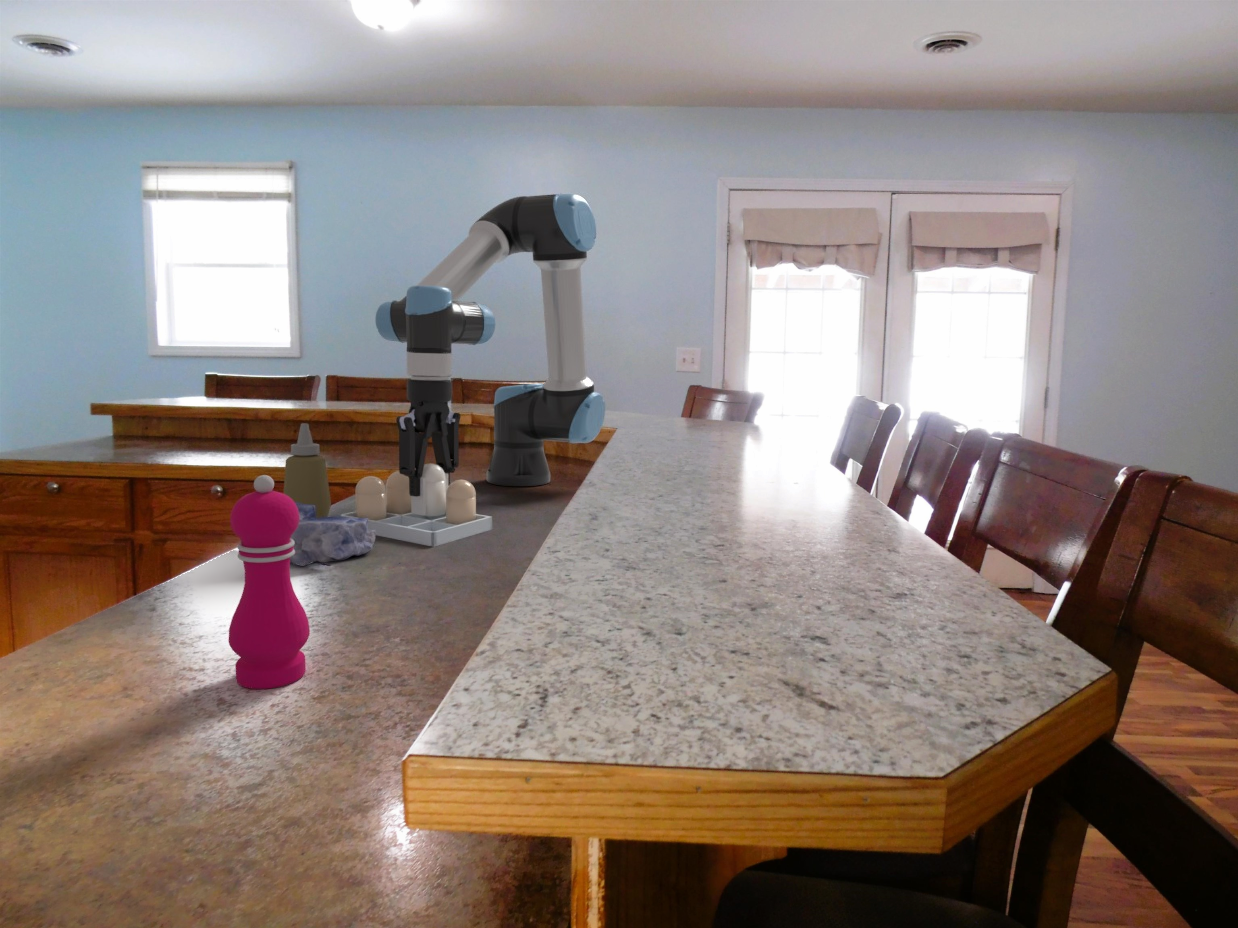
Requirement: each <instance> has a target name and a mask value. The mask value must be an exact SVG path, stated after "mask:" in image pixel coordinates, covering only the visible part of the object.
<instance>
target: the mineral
mask: <svg viewBox="0 0 1238 928" xmlns="http://www.w3.org/2000/svg"><path fill="white" fill-rule="evenodd" d="M295 504H296V506H297V508H298V511H299V525H298V527H297V529H296V530H295V532H294V533H293V534H292V535H291V539H293V540H294V542H295V544H294V546H293V547H294V550H295V554H294V555H293V556H291V557H290V564H291V563H292V564H294V565H297V566H301V567H302V566H303V567H304V566H305V567H306V566H308V565H310V564H311V563H315V562H317V563H320V565H322V566H325V565H326V566H327V567H328V566H329V567H330V566H332V564H326V563H328V562H334V561H335V562H336V561H345V560H347V559H349V558H350V557H352V556H355V557H357V556H358V557H359V556H361V555H364V554H366V553H368V552H370V551H371V550H372V549H373V547H374V543H375V542H376V535H375V534H376V531H375V530H367V523H368V518H355V517H338V516H328V517H323V518H316V511H315V505H308V504H300V503H295ZM326 566H325V567H326Z"/></svg>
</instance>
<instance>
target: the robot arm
mask: <svg viewBox="0 0 1238 928" xmlns="http://www.w3.org/2000/svg"><path fill="white" fill-rule="evenodd" d="M596 224H597V223H596V220H595V215H594V213H593V210H592V209H591V207H590V205H589V203H588V202H587V201H586V199H584V198H583V197H582V196H581V195H579V194H575V193H561V192H560V193H555V194H553V193H552V194H540V195H529V196H526V195H525V196H524V195H523V196H516V197H513V198H509V199H507V200H504V201H503V202H500V203H499V204H497V205H496V206H494V207H492V208H491V209H490V210H489V211H487V212H486V213H484V214H483V215H481V217H480V218H478V219H477V220H476V221H475V222H474V223H473V224H472V225H471V226H470V228H469V231H468V236H467V237H465V239H463V241H461V242H460V243H459V244H458V246H456V247H455V248H454V249H453V250H452V251H450V253H448V255H447V256H446V257H445V258H444V259H443V260H442V261H440V263H439V264H437V265H436V267H434V268H433V269H432V270H431V271H430V272H429V273H428V274H427V275H426V276H425V277H424V278H423V279H422V280H421V281H420V282H418V284H417V285H412V286H410V287H408V289H407V290H406V295H405V296H404V297H403V298H402V299H401V300H392V301H386V302H383V303H381V304H380V306H379V307H378V308H377V309H376V312H375V320H374V321H375V326H376V329H377V332H378V333H379V335H380V337H382V338H383V339H384V340H387V341H389V342H397V343H398V342H399V343H402V344H403V343H404V344H405V343H406V375H407V376H409V377H410V378H409V379H407V381H406V399H407V401H409V402H410V406H409V409H408V413H407V414H406V415H404V416H401V415H400V416H399V415H398V416H397V417H396V418H395V419H396V420H395V422H396V425H397V429H398V469H399V470H398V471H399V473H400V474H403V475H405V476H408V477H409V494H410V496H411V513H412V514H417V515H426V478H425V477H422V474H423V468H424V465H425V461H426V456H427V449H428V443H429V440H430V439H431V443H432V447H433V448H432V449H433V453H434V459H435V464H436V465H438V466H440V467H441V468H442V469H443V470H444V472H445V476H446V491H447V488H448V486H449V485H450V484H451V474H454V473H455V472H456V468H458V467H459V465H460V461H459V460H460V459H459V456H460V453H459V452H460V451H459V450H460V449H459V446H460V445H459V443H460V442H459V439H460V438H459V435H460V434H459V426H460V421H461V413H460V412H453V411H451V410H450V407H449V402H450V401H451V400H452V398H453V397H452V396H453V395H452V392H453V387H452V386H453V385H452V384H453V382H452V381H451V380H450V379H449V378H451V377H452V376H453V362H452V361H453V358H452V357H453V356H452V355H453V353H452V352H453V351H452V344H455V345H457V344H458V345H460V344H461V345H470V346H471V345H473V346H476V345H480V344H485V343H487V342H488V341H489V340H490V339H491V338H492V337H493V335H494V333H495V331H496V318H495V315H494V313H493V311H492V310H491V309H490V308H489V307H488V306H487V305H484V304H482V303H478V302H475V301H471V302H470V301H469V302H468V301H460V299H462V297H464V295H465V294H466V293H467V292H468V291H469V290H470V289H471V288H472V287H473V286H474V285H475V284H476V283H477V282H478V281H479V280H480V279H481V278H482V276H483V275H484V274H485V273H486V272H487V271H488V270H489V269H490V268H491V267H492V266H493V265H494V264H496V263H501V262H504V260H506V259H507V257H508V256H510V255H514V254H518V253H532V261H533V263H534V264H535V265H536V266H537V267H538V268H539V269H540V275H541V277H540V278H541V287H542V289H541V291H542V303H543V315H544V316H543V317H544V318H543V319H544V329H545V330H544V331H545V333H544V334H545V343H546V344H545V345H546V357H547V359H546V360H547V371H548V372H547V373H548V378H547V380H546V381H545V382H544V383H529V384H518V385H507V386H500V387H498V388H497V389H496V390H495V392H494V400H493V401H494V402H493V403H494V404H493V412H494V413H493V414H494V415H493V417H494V418H493V423H494V425H493V427H494V428H493V435H494V437H493V438H494V440H493V441H494V443H493V444H494V445H493V447H494V449H493V452H492V455H491V458H490V460H489V464H488V468H487V470H486V482H487V483H489V484H492V485H497V486H506V487H533V486H540V485H542V486H543V485H546V484H549V483H550V482H551V470H550V468H549V465H548V464H549V463H548V461H547V458H546V455H545V451H544V441H549V442H550V441H551V442H561V443H570V444H587V443H588V444H589V443H591V442H592V441H593V440H595V439H596V438H597V437H598V435H599V434H600V431H601V429H602V427H603V424H604V422H605V415H606V414H605V413H606V402H605V399H604V396H603V395H602V394H601V393H599V392H597V391H595V383H594V381H593V380H592V379H591V378H589V376H588V375H587V357H586V343H585V338H586V337H585V323H584V322H585V321H584V306H583V305H584V303H583V292H582V291H583V289H582V273H581V268H582V265H583V264H584V263H585V262H586V261H587V259H588V255H587V252H588V251H590V250H592V249H593V247H594V245H595V243H596V238H597V225H596Z"/></svg>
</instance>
